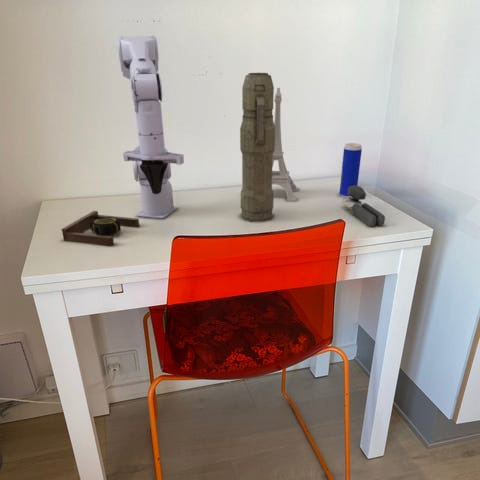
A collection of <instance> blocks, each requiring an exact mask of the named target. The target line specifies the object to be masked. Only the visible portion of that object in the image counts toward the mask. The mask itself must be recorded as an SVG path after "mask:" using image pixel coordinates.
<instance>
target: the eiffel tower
mask: <svg viewBox="0 0 480 480" xmlns="http://www.w3.org/2000/svg"><path fill="white" fill-rule="evenodd" d="M282 100H283V99H282V93H281V87H277V88H276V93H275V94H274V99H273V102H274V103H275V108H274V109H275V110H274V111H275V112H274V121H273V122H274V125H275V150H274V152H273V160H272V168H274V163H275V161H277V164H278V170H272V186H273V185H277V186H279V187H281V188H282V189H283V190H284V192H285V193H286V197H287V198H286V201H287V202H297V197H296V195H295V193H294V192H298V187H297V185H296V184H295V182H294V180H293V178H292V177H291V175H290V170H288V169H287V166H286V164H285V163H286V162H285V160H284V155H285V154H284V153H285V152H284V151H283V148H282V147H283V146H282V145H283V144H282V128H281V125H282V124H281V104H282Z"/></svg>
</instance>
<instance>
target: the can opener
mask: <svg viewBox="0 0 480 480" xmlns="http://www.w3.org/2000/svg"><path fill="white" fill-rule="evenodd" d="M348 195H351V197H352V198H349V197H348V198H345V197H342V198H341V199H340V202H341V203H342V204H343V205H345V206H346V207H347V208H348V209H350V210H351V214H352V215H353V216H355V218H358V220H360V221H362V222H363V223H364V224H366V225H367V226H368V227H371V228H372V227H374V226H379V227H381V226H383V225H384V224H385V220H386V216H385V215H384V214H383V212H380V211H378V210H377V209H376V208H374V207H373V206H371V205H370V204H368V203H367V202H364V203H363V202H362V200H366V199H367V198H366V197H367V193H366V191H365V189H364V188H363V187H361V186H359V185H358V186H350V187H349V188H348ZM360 200H361V201H360Z"/></svg>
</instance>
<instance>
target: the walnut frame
mask: <svg viewBox="0 0 480 480" xmlns="http://www.w3.org/2000/svg"><path fill="white" fill-rule="evenodd" d="M104 217H115V218H118V219H119V221H120V226H121V227H128V228H129V227H131V228H139V227H140V220H139V218H136V217H135V218H134V217H127V216H116V215H114V216H113V215H107V214H106V215H104V214H99V211H98V210H93V211H90V212H89V213H87V214H85V215H83V216H82V217H80V218H78V219H76V220H75V221H73V222H71V223H70V224H68V225H66V226H64V227H63V228H61V233H62V237H63V241H64V242H73V243H81V244H82V243H83V244H90V245H97V246H98V245H99V246H106V247H107V246H108V247H112V246H114V245H115V242H114V236H113V235H111V236H103V235H97V234H95V233H94V234H93V233H84V232H86V231H87V230H88V229H91V228H90V225H89V224H90V220H94V219H99V218H104Z"/></svg>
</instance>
